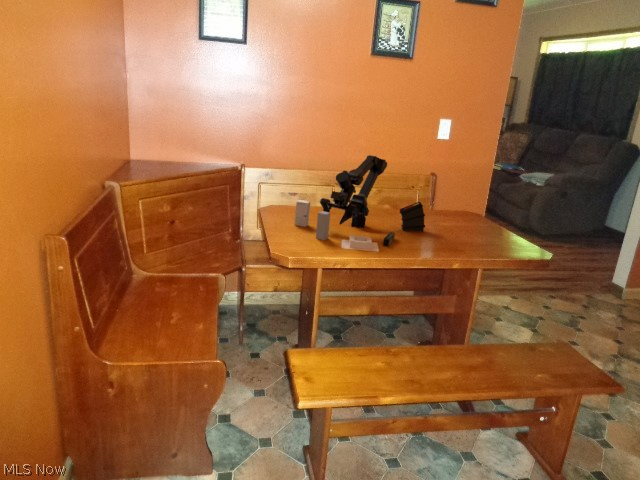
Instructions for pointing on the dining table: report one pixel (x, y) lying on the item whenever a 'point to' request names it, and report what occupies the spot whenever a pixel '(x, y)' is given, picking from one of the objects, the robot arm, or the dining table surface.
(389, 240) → the mobile phone
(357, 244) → the white flat stepped block
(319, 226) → the plug
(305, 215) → the skincare box
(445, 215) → the dining table surface
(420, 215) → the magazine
